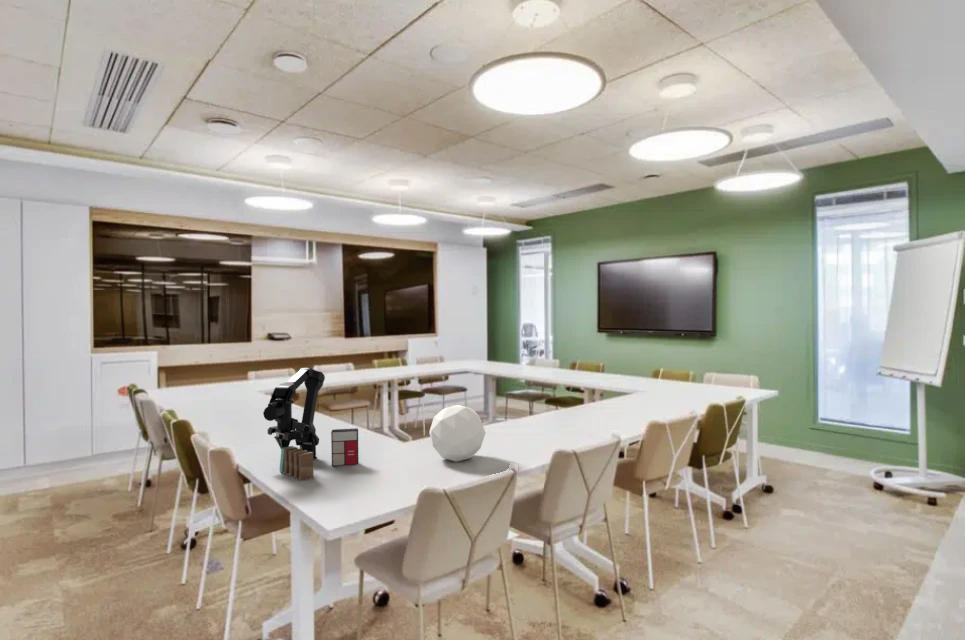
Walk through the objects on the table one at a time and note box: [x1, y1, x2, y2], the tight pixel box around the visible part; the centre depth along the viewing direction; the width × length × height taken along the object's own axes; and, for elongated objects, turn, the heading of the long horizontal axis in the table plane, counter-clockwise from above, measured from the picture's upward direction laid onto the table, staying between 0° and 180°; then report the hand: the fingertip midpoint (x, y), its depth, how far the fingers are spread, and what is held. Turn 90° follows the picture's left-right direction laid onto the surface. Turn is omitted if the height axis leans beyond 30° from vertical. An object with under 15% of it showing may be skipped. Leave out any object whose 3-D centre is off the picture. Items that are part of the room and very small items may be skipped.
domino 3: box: [288, 448, 303, 477], centre depth 213 cm, size 2×5×10 cm, turn 138°
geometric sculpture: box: [428, 404, 486, 463], centre depth 233 cm, size 24×25×25 cm
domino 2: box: [283, 446, 299, 475], centre depth 216 cm, size 2×5×10 cm, turn 138°
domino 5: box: [298, 452, 314, 481], centre depth 208 cm, size 2×5×10 cm, turn 138°
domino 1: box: [279, 445, 295, 473], centre depth 218 cm, size 2×5×10 cm, turn 138°
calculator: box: [330, 427, 360, 467], centre depth 226 cm, size 11×4×15 cm, turn 101°
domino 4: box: [293, 450, 308, 479], centre depth 210 cm, size 2×5×10 cm, turn 138°
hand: (284, 453), depth 219 cm, fingers closed
